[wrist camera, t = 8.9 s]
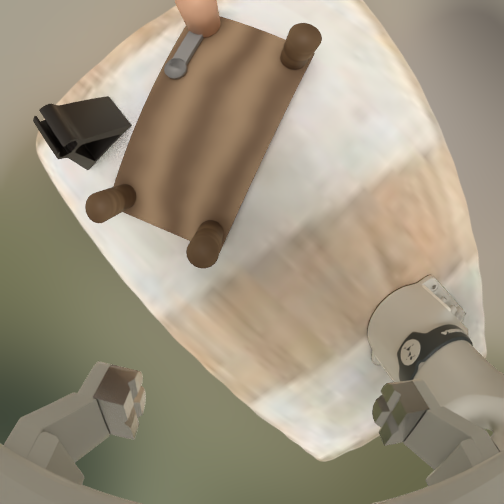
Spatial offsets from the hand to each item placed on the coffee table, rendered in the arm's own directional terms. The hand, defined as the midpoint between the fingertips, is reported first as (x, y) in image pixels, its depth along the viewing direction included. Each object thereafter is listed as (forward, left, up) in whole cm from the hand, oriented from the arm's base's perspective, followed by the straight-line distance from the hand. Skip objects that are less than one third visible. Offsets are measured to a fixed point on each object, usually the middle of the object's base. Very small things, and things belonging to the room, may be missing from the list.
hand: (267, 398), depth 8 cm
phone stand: (+24, -2, -31) cm, 39 cm away
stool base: (+10, -8, -31) cm, 33 cm away
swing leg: (+15, -17, -28) cm, 36 cm away
